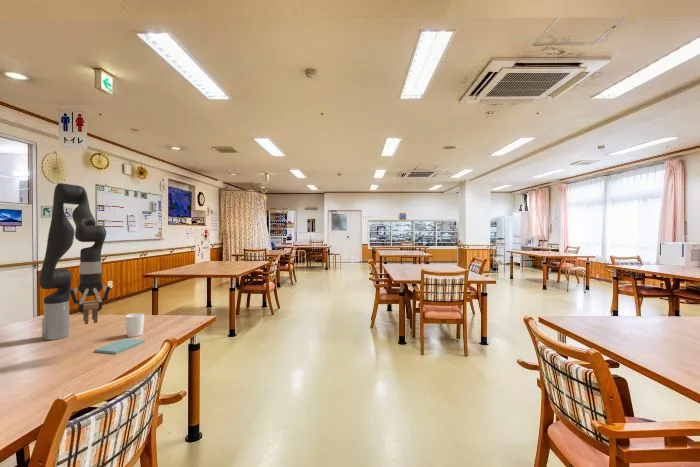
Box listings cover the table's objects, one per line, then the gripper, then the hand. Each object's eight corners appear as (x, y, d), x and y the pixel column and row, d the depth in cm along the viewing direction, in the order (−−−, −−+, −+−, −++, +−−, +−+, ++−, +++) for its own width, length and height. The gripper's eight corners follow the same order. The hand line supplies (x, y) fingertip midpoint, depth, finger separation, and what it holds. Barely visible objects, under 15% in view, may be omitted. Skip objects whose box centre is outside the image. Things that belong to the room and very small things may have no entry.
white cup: (135, 337, 160) (135, 317, 160) (121, 336, 162) (121, 316, 162) (147, 333, 168) (148, 313, 168) (134, 331, 170) (135, 312, 170)
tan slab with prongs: (82, 320, 142) (82, 301, 142) (96, 318, 145) (96, 300, 145) (83, 324, 135) (83, 305, 135) (98, 322, 139) (98, 303, 139)
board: (94, 351, 141) (94, 349, 141) (124, 340, 156) (124, 338, 156) (115, 354, 139) (115, 351, 139) (144, 342, 154) (144, 340, 154)
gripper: (110, 270, 148) (110, 307, 148) (68, 272, 138) (68, 312, 138) (112, 271, 142) (112, 310, 142) (68, 274, 133) (68, 316, 133)
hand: (90, 311), depth 140 cm, fingers closed on tan slab with prongs, 5 cm apart
